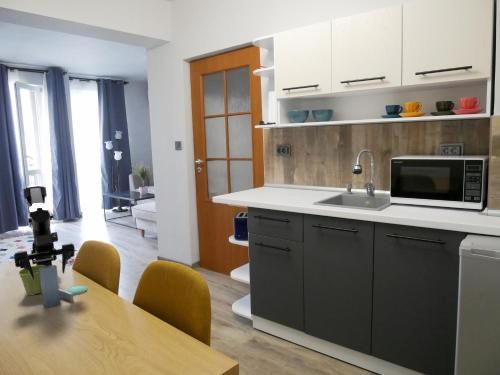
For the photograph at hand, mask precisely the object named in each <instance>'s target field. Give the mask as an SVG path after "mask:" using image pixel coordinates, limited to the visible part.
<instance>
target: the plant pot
mask: <svg viewBox="0 0 500 375" xmlns="http://www.w3.org/2000/svg"><path fill="white" fill-rule="evenodd" d="M44 266H45V265H37V266H36V265H31V267H32V271H33V274H34V279H32V278H31V276H30V275H29V273H28V272H27V271H26V270H25V269H24V268H21V269H20V270H19V271H18V272H17V273H18V274H17V275H18V276H19V277H20V278H21V282H22V283H23V287H24V291H25V293H26V294H27V295H29V296H35V295H37V294H42V288H41V279H40V271H39V269H40V268H41V267H44Z"/></svg>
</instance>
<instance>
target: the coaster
mask: <svg viewBox="0 0 500 375" xmlns="http://www.w3.org/2000/svg"><path fill="white" fill-rule="evenodd" d="M64 291H67V292H70V293H73V296H77V295H80V294H84V293H85V292H87V291H88V287H87V286H86V285H77V286H73V287H69V288H67V289H65V290H64Z"/></svg>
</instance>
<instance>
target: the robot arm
mask: <svg viewBox="0 0 500 375" xmlns="http://www.w3.org/2000/svg"><path fill="white" fill-rule="evenodd" d="M22 192H23V198H24V200H25V201H26V205H28V206H29V208H28V210H29V212H28V213H27V220H28V224H30V225H31V226H32V236H33V242H32V244H31V245H32V249H30V253H29V254H28V251H27V250H24V251H19V252H15V253H14V254H13V258H14V266H15V267H16V268H20V269H25V270H26V271H27V272H28V273H29V275H30V276H31V278H32V279H34V274H33V271H32V267H31V266H32V265H35V266H37V265H45V266H47V265H53V262H55V261H56V260H58V259H57V258H58V256H61V258H62V259H61V264H62V265H61V270H62V274H65V271H66V266H67V263H68V261H70V260H72V258H73V257H75V254H76V253H75V252H76V251H75V250H76V248H75V245H74V244H73V243H71V242H70V243H66V244H62V245H61V248H58V249H56V248H55V243H57V242H59V235H58V232H57V231H55V232H54V231H53V232H52V230H51V221H52V220H53V219H54V214H53V213H52V212H51V210H49V208H48V205H46V204H45V202H46V197H47V195H48V194H47V187H46V186H42V185H41V184H35V185H34V184H33V185H29V186H27V187H26V188H23V191H22ZM31 262H32V264H31Z"/></svg>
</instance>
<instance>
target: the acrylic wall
mask: <svg viewBox="0 0 500 375" xmlns="http://www.w3.org/2000/svg"><path fill="white" fill-rule="evenodd" d="M59 292H60V298H62V299H65V300H67V301H70V302H73V301H75V299H74V295H73V293H70V292H67V291H65V290H64V289H62V288H59Z"/></svg>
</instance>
